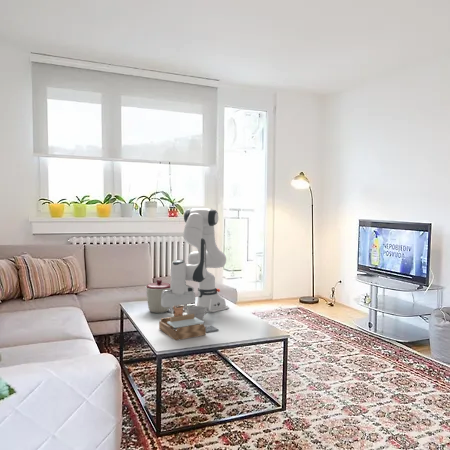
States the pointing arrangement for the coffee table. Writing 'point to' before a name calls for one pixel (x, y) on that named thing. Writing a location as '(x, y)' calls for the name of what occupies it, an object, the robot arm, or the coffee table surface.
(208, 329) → the tile
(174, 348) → the coffee table surface
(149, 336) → the coffee table surface
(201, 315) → the teacup
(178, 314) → the pot
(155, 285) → the canister
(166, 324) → the cold frame
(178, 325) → the lid
